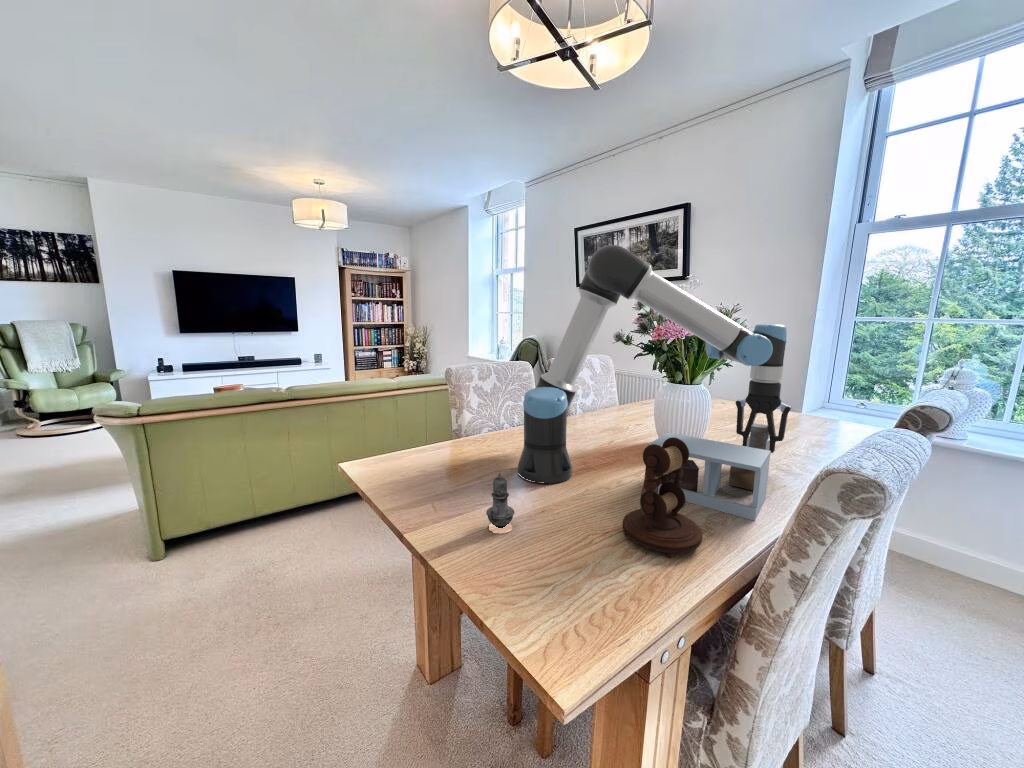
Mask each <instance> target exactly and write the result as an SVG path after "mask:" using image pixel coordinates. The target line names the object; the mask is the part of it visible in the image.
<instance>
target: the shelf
mask: <svg viewBox="0 0 1024 768" xmlns="http://www.w3.org/2000/svg"><path fill="white" fill-rule="evenodd" d="M672 437H674V438H678V439H680V440H682V441H683V442H684V443H685V444H686V445H687V447H688V450H689V458H692V459H695V460H702V461H704V471H703V484H702V486H703V487H702V493H700V492H698V491H697V492H693V491H689V490H685V489H682V488H681V489H682V490H683V492H684V494H685V499H686V501H685V503H686V502H687V503H690V504H694V505H697V506H700V507H704V508H707V509H708V508H709V509H712V510H715V511H719V512H723V513H726V514H730V515H733V516H737V517H740V518H744V519H747V520H751V521H755V522H756V520H757V518H758V516H759V513H760V512H761V509H762V507H763V505H764V504H765V502H766V499H767V497H766V496H767V488H768V479H769V472H770V471H769V470H770V462H771V454H772V453H771V451H769V450H763V449H757V448H752V447H746V446H742V445H741V444H735V443H734V444H733V443H730V442H723V441H718V440H713V439H707V438H701V437H694V436H691V435H684V434H680V433H679V434H678V433H672V432H666V433H664V434H663V435H661V436H660V437H658V438H657V439H655V440H653V441H651V442H650V443H648V445H647V446H649V445H651V444H656V445H659V446H661V447H662V445H663V443H664V442H665V440H667V439H668V438H672ZM723 465H724V466H730V467H731V466H734V467H738V468H743V469H748V470H753V471H755V479H754V489H753V490H752V491H753V492H752V500H751V506H750V505H745V504H743V503H738V502H734V501H732V500H731V501H730V500H727V499H725V498H724V499H723V498H719V497H716V496H715V495H716V494H717V493H718V492H719V490H720V487H721V478H722V466H723ZM661 485H662V484H660V485H659V486H658V494H659V489H660V486H661Z"/></svg>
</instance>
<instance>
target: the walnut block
mask: <svg viewBox="0 0 1024 768" xmlns="http://www.w3.org/2000/svg"><path fill="white" fill-rule="evenodd" d="M749 436H750V442H749V447H752V448H757V449H763V450H766V442H767V440H768V439H769V440H770V438H769V430H768V424H762V423H756V422H754V423H753V425H752V426H751V432H750V435H749ZM729 470H730V471H729V480H728V485H729V486H734V487H738V488H743V489H746V490H750V491H753V489H754V479H755V471H753V470H748V469H743V468H738V467H734V466H730V469H729Z"/></svg>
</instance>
